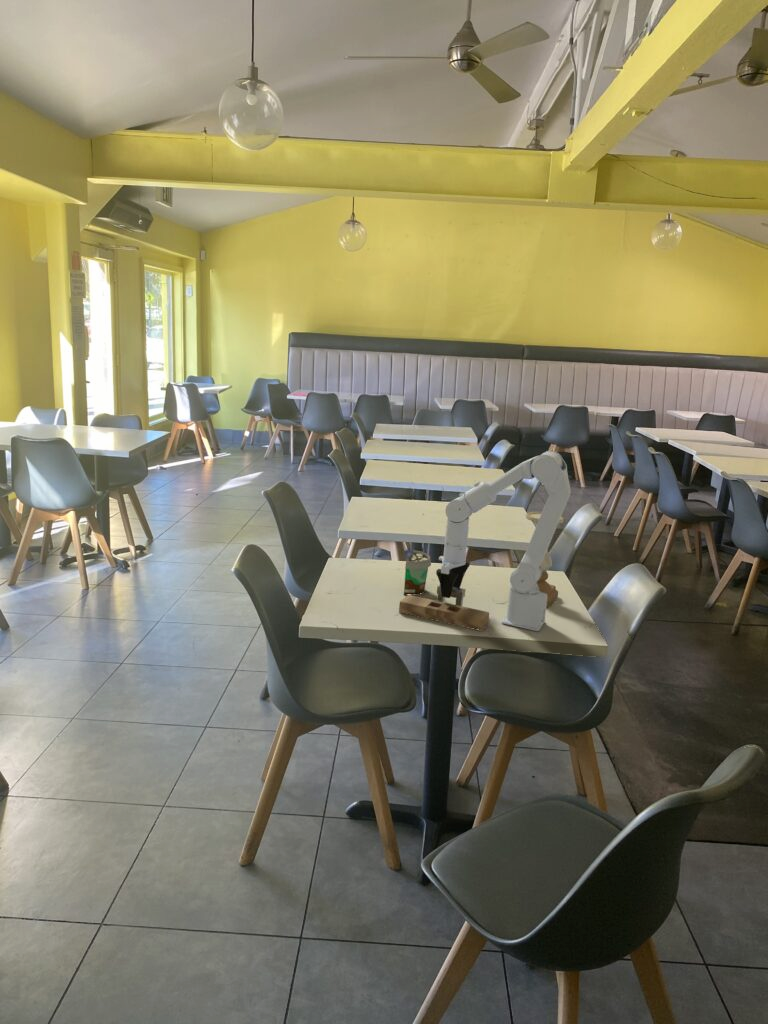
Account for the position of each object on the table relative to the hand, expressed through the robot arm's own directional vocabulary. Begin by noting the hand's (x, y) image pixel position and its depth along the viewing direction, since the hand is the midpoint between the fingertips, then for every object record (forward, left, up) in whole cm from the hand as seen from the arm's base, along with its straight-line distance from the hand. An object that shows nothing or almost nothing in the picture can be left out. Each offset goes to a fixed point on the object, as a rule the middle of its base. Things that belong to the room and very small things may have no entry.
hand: (450, 592), depth 191 cm
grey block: (0, 0, -4) cm, 4 cm away
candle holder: (-18, -22, -4) cm, 28 cm away
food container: (+12, -8, -4) cm, 15 cm away
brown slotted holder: (-1, +8, -4) cm, 9 cm away
